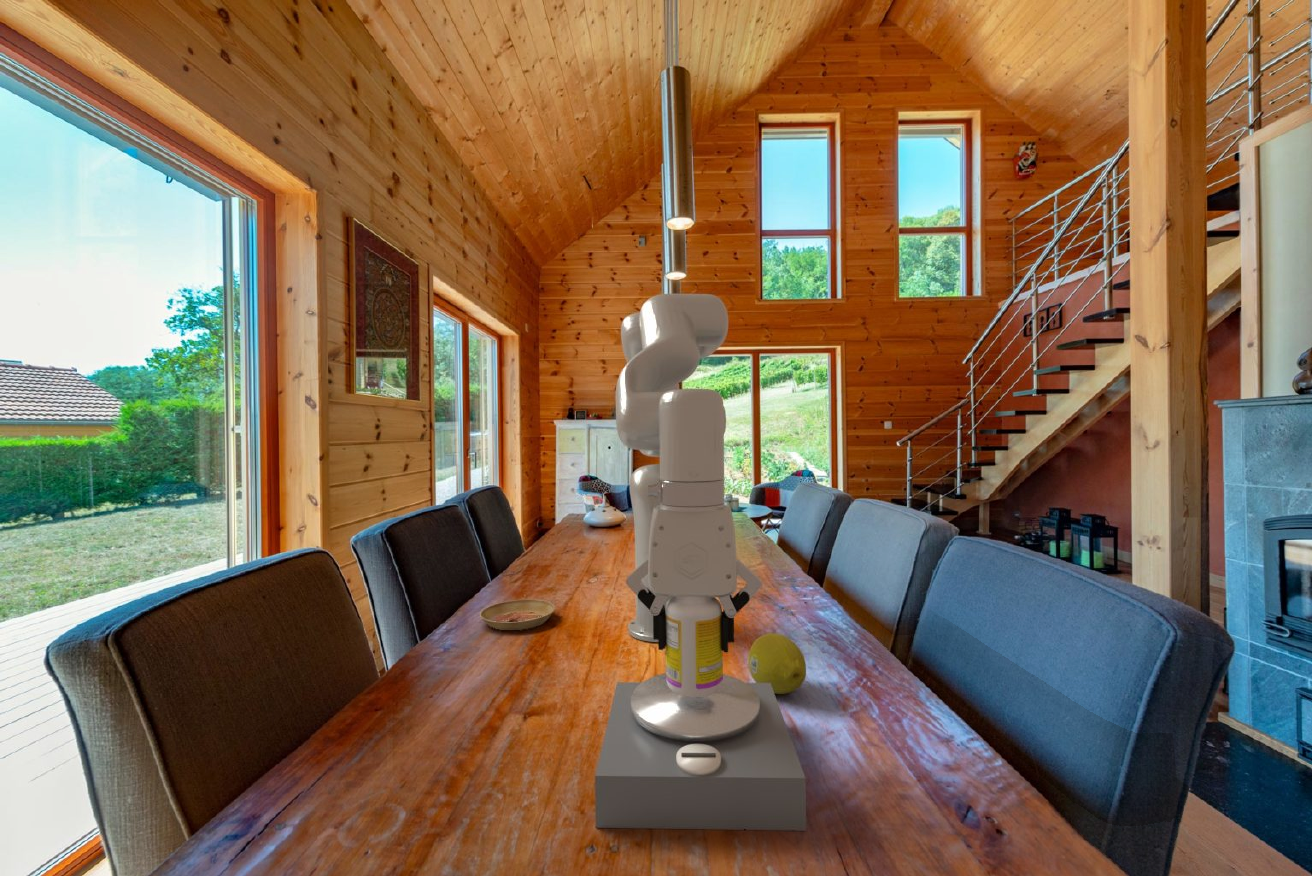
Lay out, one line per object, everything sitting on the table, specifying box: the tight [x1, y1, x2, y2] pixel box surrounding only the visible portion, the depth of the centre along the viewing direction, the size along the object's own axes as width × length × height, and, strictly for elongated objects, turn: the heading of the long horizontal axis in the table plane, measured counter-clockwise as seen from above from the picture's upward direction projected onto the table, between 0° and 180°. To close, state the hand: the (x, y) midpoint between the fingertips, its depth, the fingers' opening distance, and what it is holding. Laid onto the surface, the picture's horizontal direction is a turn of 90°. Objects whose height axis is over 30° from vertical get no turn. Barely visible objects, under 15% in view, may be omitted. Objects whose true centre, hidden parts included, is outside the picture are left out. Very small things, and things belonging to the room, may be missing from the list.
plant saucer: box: [479, 598, 556, 631], centre depth 113 cm, size 15×15×3 cm
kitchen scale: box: [594, 681, 807, 832], centre depth 63 cm, size 20×20×6 cm
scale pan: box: [631, 672, 760, 741], centre depth 66 cm, size 15×15×1 cm
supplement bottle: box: [665, 596, 724, 697], centre depth 66 cm, size 7×7×13 cm
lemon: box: [747, 632, 807, 695], centre depth 81 cm, size 11×8×8 cm
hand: (693, 645), depth 66 cm, fingers closed on supplement bottle, 6 cm apart
